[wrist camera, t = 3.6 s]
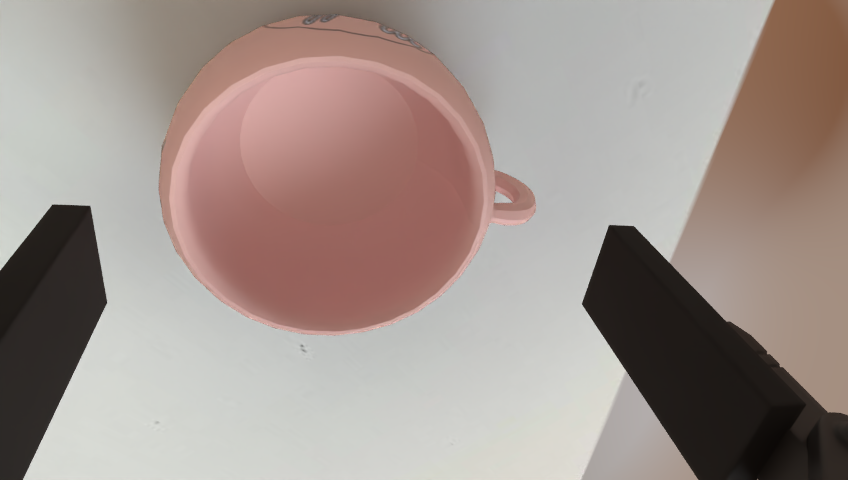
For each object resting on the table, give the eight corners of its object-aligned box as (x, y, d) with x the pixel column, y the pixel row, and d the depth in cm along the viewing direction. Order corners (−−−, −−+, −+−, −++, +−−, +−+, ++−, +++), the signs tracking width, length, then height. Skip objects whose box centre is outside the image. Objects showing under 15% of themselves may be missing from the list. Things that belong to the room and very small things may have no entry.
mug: (188, 239, 23) (154, 340, 18) (187, -33, 18) (139, -1, 13) (475, 262, 26) (515, 353, 21) (542, 33, 21) (615, 81, 16)
